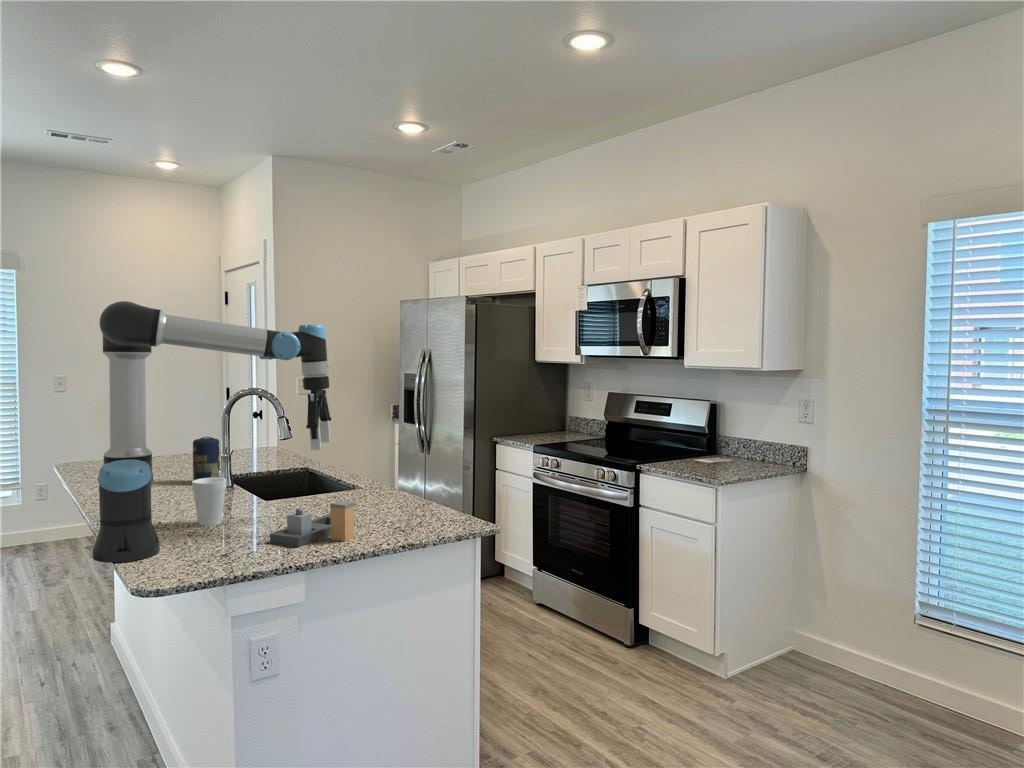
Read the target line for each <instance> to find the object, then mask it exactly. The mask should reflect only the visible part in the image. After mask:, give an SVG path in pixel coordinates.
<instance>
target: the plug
mask: <svg viewBox="0 0 1024 768" xmlns="http://www.w3.org/2000/svg"><path fill="white" fill-rule="evenodd" d="M329 508H330V511H329V512H330V514H329V515H330V519H331V536H330V540H332V539H334V540H333V541H338V540H341V541H340V542H348V541H351V540H353V539H355V527H354V518H355V502H354V501H343V500H338V501H334V502H332V503H330V507H329ZM352 538H353V539H352ZM350 539H351V540H350ZM347 540H348V541H347Z"/></svg>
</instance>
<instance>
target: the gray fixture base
mask: <svg viewBox="0 0 1024 768" xmlns="http://www.w3.org/2000/svg"><path fill="white" fill-rule="evenodd" d="M303 511H304V509H303V508H295V512H293V513H289V514H287V515H286V524H287V525H286V528H283V529H280V530H276V531H275V532H271V533H269V543H270V544H276V545H283V546H288V547H295V548H301V547H304V546H306V545H309V544H311V543H314V542H317V541H320V540H322V538H323V539H325V538H328V537H331V536H330V535H331V519H330V514H326V515H322V516H320V517H316V518H313V519H312V513H309V512H308V513H307V512H303ZM355 520H356V519H355V517H354V526H355ZM327 536H328V537H327ZM319 539H320V540H319Z"/></svg>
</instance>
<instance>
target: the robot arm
mask: <svg viewBox="0 0 1024 768" xmlns="http://www.w3.org/2000/svg"><path fill="white" fill-rule="evenodd" d="M98 322H99V329H100V332H101V333H102V353H103V354H104V356H106V357H107V359H108V361H109V365H108V367H109V373H108V374H109V376H108V377H109V448H108V450H107V451H106V452H104V453H103V465H102V466H101V467H100V468H99V470H98V476H97V483H98V492H99V493H98V496H99V499H98V501H99V529H98V532H97V534H96V535H97V536H96V538H95V542H94V546H93V548H92V559H93V561H95V562H99V563H107V564H108V563H109V564H110V563H113V564H114V563H125V562H126V563H127V562H133V561H134V562H135V561H138V560H143V559H146V558H151V557H153V556H156V555H157V554H158V553H159V552H160V548H161V545H160V544H161V543H160V542H161V541H160V540H159V538H158V535H157V531H156V530H155V526H154V524H153V518H152V486H153V483H154V473H153V452H152V451H151V450H150V449H149V448H148V447H147V444H146V443H147V439H146V436H147V430H146V429H147V426H146V425H147V420H146V419H147V418H146V416H147V414H146V410H147V408H146V406H147V405H146V391H147V390H146V359H147V358H148V357H150V356H151V355H152V352H153V351H152V348H153V347H156V348H157V347H159V346H160V345H170V346H171V345H172V346H179V347H187V348H194V349H202V350H208V351H217V352H223V353H224V352H225V353H231V354H240V355H245V356H246V355H248V356H255V357H258V358H259V359H261V360H268V361H269V360H270V361H271V360H280V361H290V360H292V359H294V358H300V360H301V363H300V364H301V374H302V376H303V378H302V384H303V385H302V387H303V390H304V391H310V393H308V394H307V423H306V425H305V427H306V429H309V439H310V440H309V441H310V450H311V451H321V450H322V446H321V445H322V443H324V444H325V443H331V431H330V422H331V421H332V417H331V415H330V409H329V404H328V400H327V391H326V390H327V389H329V388H330V377H329V376H328V374H329V368H330V367H331V365H330V364H329V363H328V349H327V337H326V330H325V325H323V324H321V323H314V324H301V325H299V326H298V330H297V331H291V332H289V331H278V330H271V329H265V328H259V327H258V328H257V327H252V326H251V327H250V326H245V325H238V324H232V323H224V322H219V321H212V320H205V319H200V318H199V319H197V318H193V317H184V316H178V315H171V314H166V313H165V312H164V310H163V309H160V308H159V309H158V308H153V307H152V308H151V307H148V306H145V305H140V304H137V303H135V302H132V301H128V300H127V301H126V300H125V301H123V300H122V301H121V300H120V301H116V302H114V303H111V304H109V305H108V306H107V307H105V308H104V309H103V311H102V312H101V314H100V317H99V321H98Z"/></svg>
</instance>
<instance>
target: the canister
mask: <svg viewBox="0 0 1024 768" xmlns="http://www.w3.org/2000/svg"><path fill="white" fill-rule="evenodd" d="M220 455H221V454H220V440H219V438H214V437H211V436H203V437H200V438H196V439H194V440H193V442H192V468H193V469H192V472H193V473H192V479H193V480H192V481H194V480H197V479H202V478H219V476H220V472H219V469H220V467H221V463H220V460H221V459H220ZM220 470H221V469H220Z"/></svg>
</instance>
